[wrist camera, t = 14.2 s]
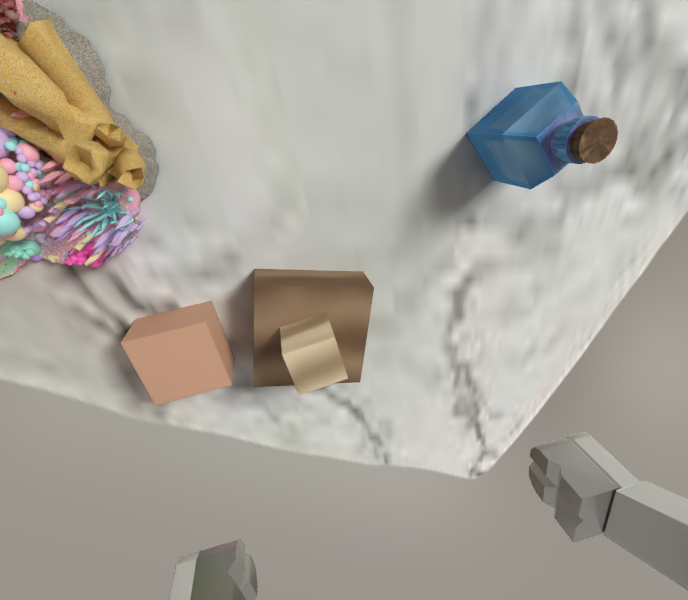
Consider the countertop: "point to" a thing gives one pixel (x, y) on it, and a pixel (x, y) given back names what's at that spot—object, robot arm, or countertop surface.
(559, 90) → the perfume bottle
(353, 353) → the walnut block
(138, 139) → the candy landscape model
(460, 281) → the countertop surface
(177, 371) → the terracotta block
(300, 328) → the maple cube
